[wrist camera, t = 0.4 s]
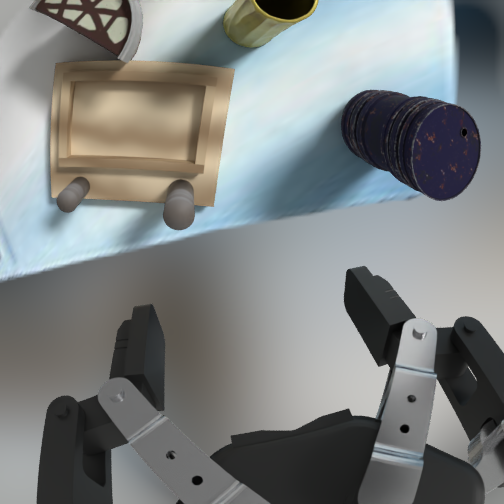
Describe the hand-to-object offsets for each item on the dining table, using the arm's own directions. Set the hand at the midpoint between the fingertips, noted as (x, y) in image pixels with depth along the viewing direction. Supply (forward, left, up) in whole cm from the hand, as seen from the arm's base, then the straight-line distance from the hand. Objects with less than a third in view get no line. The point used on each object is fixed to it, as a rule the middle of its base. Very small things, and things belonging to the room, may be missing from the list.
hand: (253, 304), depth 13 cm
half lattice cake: (-15, -13, -28) cm, 34 cm away
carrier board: (-2, -9, -28) cm, 29 cm away
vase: (-16, +2, -28) cm, 32 cm away
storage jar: (-7, +20, -28) cm, 35 cm away
